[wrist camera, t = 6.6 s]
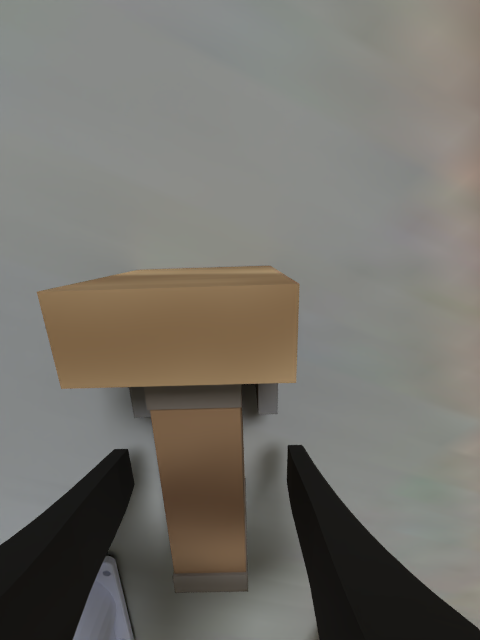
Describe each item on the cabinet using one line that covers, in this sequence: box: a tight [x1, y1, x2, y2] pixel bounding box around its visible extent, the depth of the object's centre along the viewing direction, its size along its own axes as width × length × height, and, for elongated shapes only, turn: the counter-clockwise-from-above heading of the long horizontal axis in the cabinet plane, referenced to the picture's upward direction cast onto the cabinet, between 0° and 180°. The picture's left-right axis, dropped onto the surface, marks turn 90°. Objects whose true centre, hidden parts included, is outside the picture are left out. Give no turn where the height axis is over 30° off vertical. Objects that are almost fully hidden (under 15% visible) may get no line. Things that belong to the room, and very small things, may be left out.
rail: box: [144, 384, 248, 593], centre depth 12 cm, size 10×3×5 cm, turn 2°
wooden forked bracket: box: [37, 266, 299, 418], centre depth 9 cm, size 6×6×6 cm
